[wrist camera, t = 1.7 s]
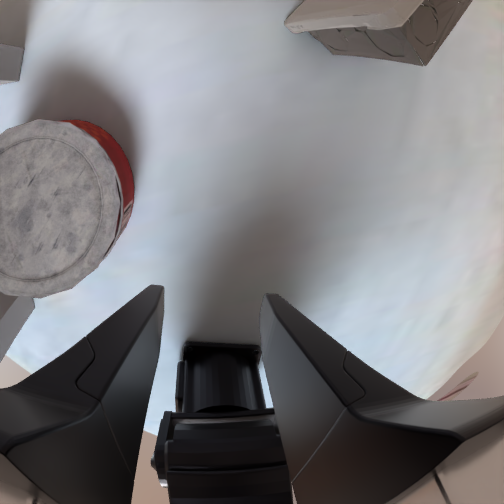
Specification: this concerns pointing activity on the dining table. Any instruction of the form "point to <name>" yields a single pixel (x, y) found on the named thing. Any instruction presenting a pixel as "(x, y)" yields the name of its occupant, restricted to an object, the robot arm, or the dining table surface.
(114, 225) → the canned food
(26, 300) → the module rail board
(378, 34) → the electrical switch
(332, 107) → the dining table surface
